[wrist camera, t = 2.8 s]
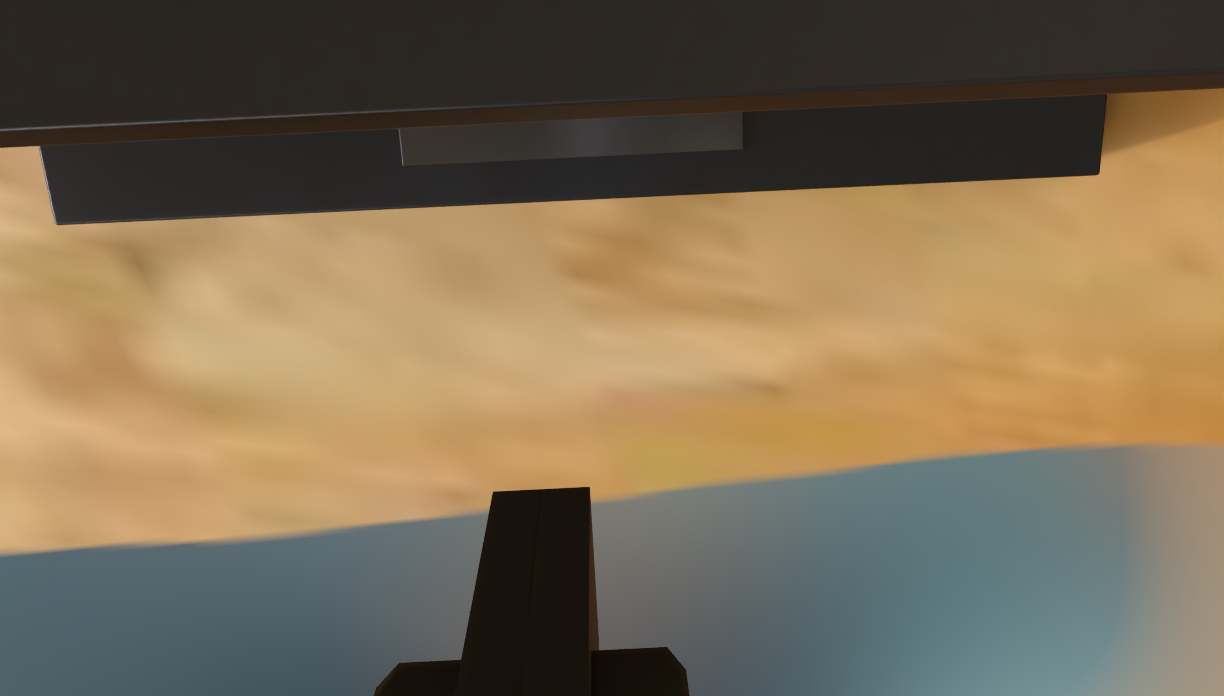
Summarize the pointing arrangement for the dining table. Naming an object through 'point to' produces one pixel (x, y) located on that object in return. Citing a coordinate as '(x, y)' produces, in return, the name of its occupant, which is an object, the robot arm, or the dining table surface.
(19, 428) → the dining table surface
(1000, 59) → the laptop screen
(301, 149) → the laptop
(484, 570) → the robot arm
